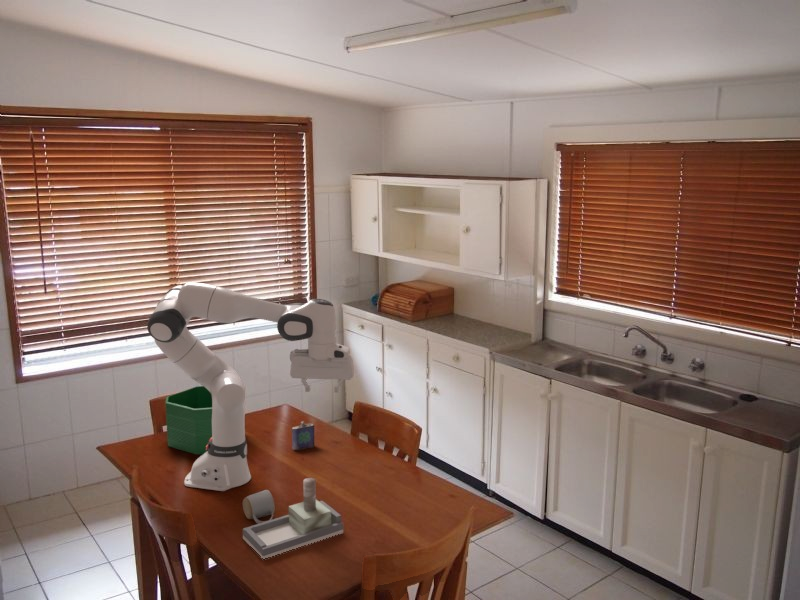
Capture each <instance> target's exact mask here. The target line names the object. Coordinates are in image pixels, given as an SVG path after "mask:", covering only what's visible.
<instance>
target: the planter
mask: <svg viewBox="0 0 800 600" xmlns="http://www.w3.org/2000/svg"><path fill="white" fill-rule="evenodd" d="M164 403H165V417H166V418H165V422H166V438H167V446H168V447H170V448H173V449H177V450H181V451H183V452H186V453H190V454H193V455H203V454H204V453H206V452H207V451H208V450H206V446H207V443H208V442H209V440H210V439H211V437H212V395H211V393H210V392H209V391H208V390H207V389H206V388H205V387H204V386H202V385H201V386H200V385H197V386H194V387H191V388H188V389H185V390H183V391H179V392H177V393H173V394H171V395H168V396H166V398H165V401H164Z"/></svg>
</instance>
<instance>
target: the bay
mask: <svg viewBox="0 0 800 600" xmlns="http://www.w3.org/2000/svg"><path fill="white" fill-rule="evenodd" d="M318 501H319V500H318ZM319 502H320V503H322V504H323V505H324V506H325V507H327V508H328V509H329V510H330V511H331V525H329V526H326V527H323V528H320V529H317V530H314V531H311V532H308V533H305V534H300V533H299V532H298V531H297V530H296V529H295V528H294V527H293V526H292V525H290V524H289V514H285V515H282V516H279V517H276V518H273V519H272V520H269V521H268V520H265V521H266V522H263V523H259V524H257V523H256V524H254V525H253V524H252V525H250V526H247V527H244V528H242V540H244V541H245V543H246V544H247V545H249V547H250V546H251V547H252V548H253V549H254V550H255V551H256V552H257V553H258V554H259V555H260V556H261V557H260V556H259V555H258V554H257V553H256V552H255V551H254V550H253V549H252V548H251V547H250V548H251V549H252V550H253V551H254V552H255V553H256V554H257V555H258V556H259V557H260V558H261V559H262V558H263V559H265V558H268V557H271V558H273V557H272V556H274V557H276V556H275V555H277V554H280V555H282V554H281V553H283V552H286V551H289V550H292V549H295V550H297V549H296V548H298V547H301V546H304V545H306V546H309V545H312V544H314V542H315V543H318V542H321V541H323V539H324V540H327V539H330V538H332V536H333V537H335V535H336V536H339V535H341V534H342V535H343V534H344V522H342V515H341V514H340V513H339V512H337V510H335V509H334V508H332V507H331V506H330V505H329V504H327V503H326V502H325V501H323V500H320V501H319ZM338 534H339V535H338ZM329 537H330V538H329ZM326 538H327V539H326ZM320 540H321V541H320ZM317 541H318V542H317ZM311 543H312V544H311ZM308 544H309V545H308ZM304 547H305V546H304ZM301 548H302V547H301ZM298 549H299V548H298ZM292 551H293V550H292ZM289 552H290V551H289ZM286 553H287V552H286ZM283 554H284V553H283ZM277 556H278V555H277ZM263 559H262V560H263ZM268 559H269V558H268ZM265 560H266V559H265Z"/></svg>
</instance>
